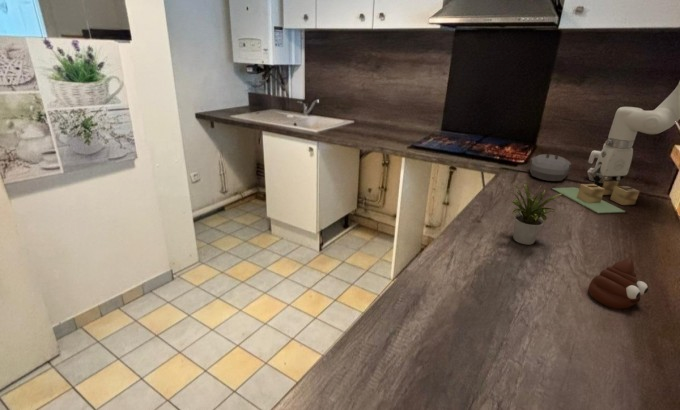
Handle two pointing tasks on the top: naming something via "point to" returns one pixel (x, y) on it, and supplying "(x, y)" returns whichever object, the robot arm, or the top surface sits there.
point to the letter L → (608, 185)
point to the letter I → (590, 193)
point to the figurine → (593, 155)
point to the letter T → (624, 195)
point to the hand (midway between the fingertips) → (603, 191)
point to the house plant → (529, 216)
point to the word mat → (596, 207)
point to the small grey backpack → (549, 167)
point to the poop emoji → (618, 285)
